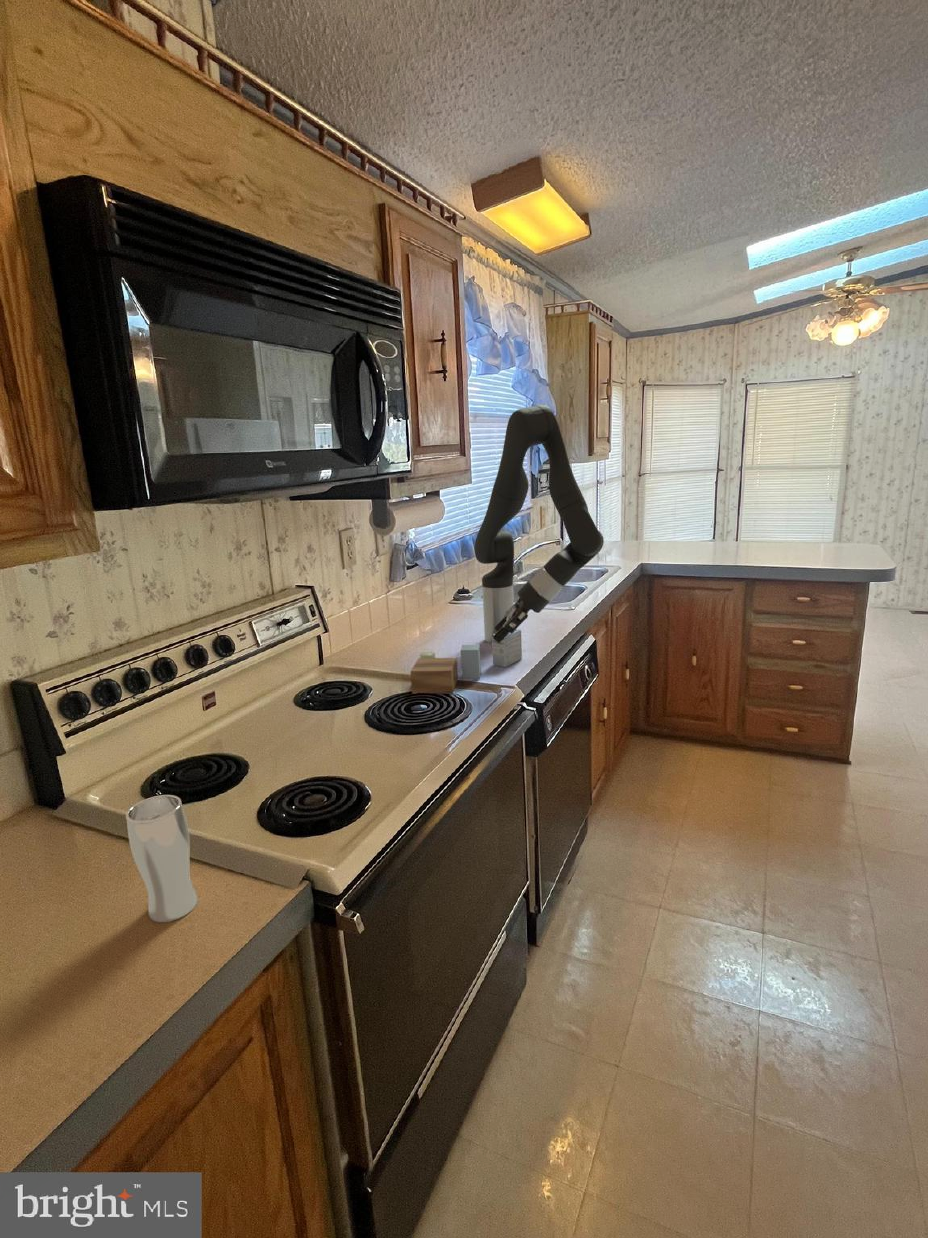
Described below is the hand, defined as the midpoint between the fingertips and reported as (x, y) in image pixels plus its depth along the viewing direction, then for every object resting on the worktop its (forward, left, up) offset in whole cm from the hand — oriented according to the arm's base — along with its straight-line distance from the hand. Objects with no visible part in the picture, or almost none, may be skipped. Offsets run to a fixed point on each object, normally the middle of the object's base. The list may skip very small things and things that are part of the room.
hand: (496, 635), depth 165 cm
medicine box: (-11, +2, -11) cm, 16 cm away
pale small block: (-5, -19, -11) cm, 22 cm away
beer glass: (+88, -40, -11) cm, 97 cm away
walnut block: (+6, -15, -11) cm, 20 cm away
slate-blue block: (0, -7, -11) cm, 13 cm away
